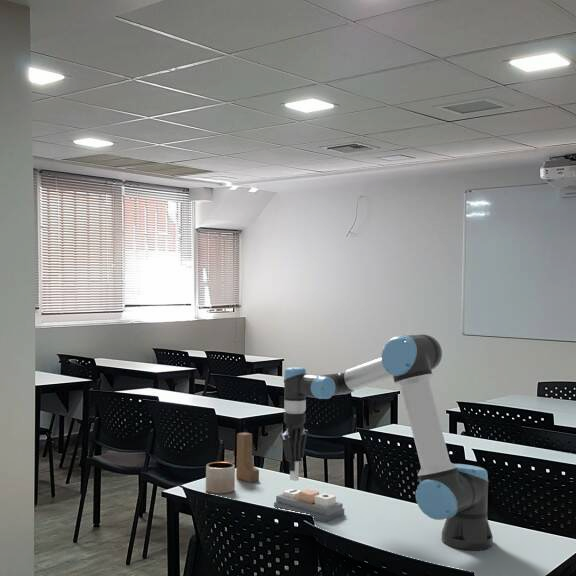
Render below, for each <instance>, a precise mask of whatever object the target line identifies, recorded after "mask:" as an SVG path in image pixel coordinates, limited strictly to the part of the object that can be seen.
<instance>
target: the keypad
mask: <svg viewBox="0 0 576 576" xmlns="http://www.w3.org/2000/svg"><path fill="white" fill-rule="evenodd" d="M275 497H276V498H275V501H274V502H273V508H274V507H275V508H280V509H285V510H291V511H295V512H300V513H306V514H310V515H312V516H313V517H314V519H313V520H315V521H319V522H322V523H327V522H330V521H331V520H334V519H336V518H340V517H341V516H344V515H345V508H343V506H344V505H343V503H341V502H337V501H336V505H334V506H331V507H328V508H325V507H322V506H318V505H315V502H314V503H311V504H310V503H306V502H302V501H299V500H295V499H291V498H287V497H283V493H282V494H278V495H276V496H275ZM275 508H274V509H275Z"/></svg>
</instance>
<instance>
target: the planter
mask: <svg viewBox="0 0 576 576" xmlns="http://www.w3.org/2000/svg"><path fill="white" fill-rule="evenodd" d="M205 466H206V467H205V491H206V492H207V493H210V494H214V495H215V494H216V495H225V494H230V493H232V492H234V491H235V487H236V485H235V481H236V480H235V477H236V476H235V475H236V473H235V472H236V470H235V468H236V465H235V463H232V462H229V461H214V462H209V463H207V464H206V465H205Z"/></svg>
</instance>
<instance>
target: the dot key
mask: <svg viewBox="0 0 576 576" xmlns="http://www.w3.org/2000/svg"><path fill="white" fill-rule="evenodd" d="M336 498H337V496H336V495H333V494H329V493H325V492H324V493H321V494H320V493H319V495H317V496H315V505H318V506H322V507H325V508H328V507H331V506H334V505H336V502H337V499H336Z"/></svg>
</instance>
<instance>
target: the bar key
mask: <svg viewBox="0 0 576 576" xmlns="http://www.w3.org/2000/svg"><path fill="white" fill-rule="evenodd" d="M301 491H302V490H299V489H295V488H291V489H287V490H284V491H283V493H282V494H283V497H287V498H291V499H295V500H299V492H301Z"/></svg>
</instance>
